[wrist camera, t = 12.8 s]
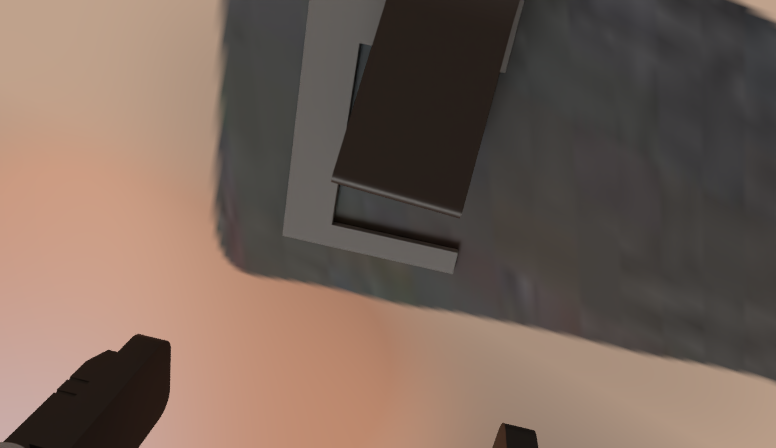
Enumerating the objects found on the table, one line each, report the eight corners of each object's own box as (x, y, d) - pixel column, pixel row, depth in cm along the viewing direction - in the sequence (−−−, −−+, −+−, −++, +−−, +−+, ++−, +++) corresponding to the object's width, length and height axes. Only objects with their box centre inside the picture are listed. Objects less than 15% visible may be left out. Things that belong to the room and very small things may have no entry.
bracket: (526, -13, 29) (527, -13, 28) (452, 270, 36) (452, 273, 35) (317, -55, 29) (315, -55, 29) (284, 232, 36) (282, 235, 36)
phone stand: (356, 165, 34) (411, -43, 31) (453, 193, 34) (515, -14, 31) (329, 182, 25) (401, -105, 23) (459, 219, 25) (547, -66, 22)
